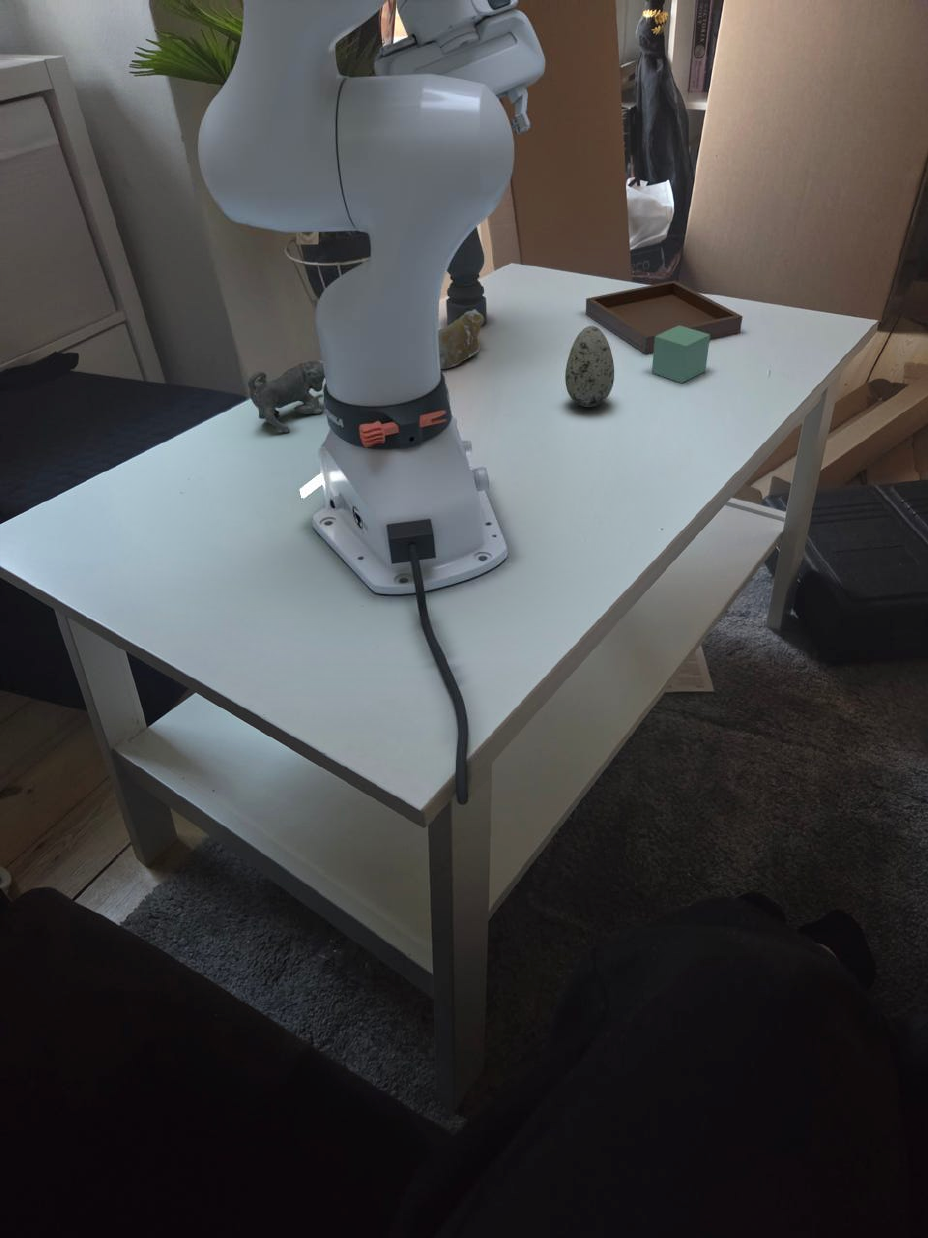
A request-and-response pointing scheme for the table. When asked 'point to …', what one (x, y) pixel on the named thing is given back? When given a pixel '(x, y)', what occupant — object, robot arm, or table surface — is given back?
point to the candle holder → (466, 280)
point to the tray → (660, 313)
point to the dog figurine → (287, 391)
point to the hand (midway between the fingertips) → (492, 145)
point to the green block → (680, 353)
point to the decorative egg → (590, 368)
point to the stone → (459, 339)
